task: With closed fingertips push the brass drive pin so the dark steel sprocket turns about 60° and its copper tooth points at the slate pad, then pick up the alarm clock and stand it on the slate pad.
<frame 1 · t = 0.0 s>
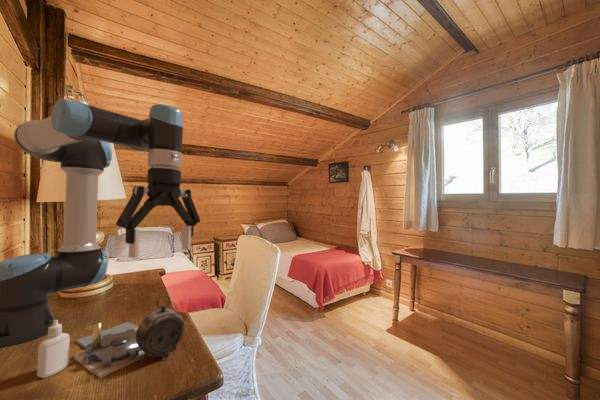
hand: (162, 253, 66), 28 cm above the table, fingers open, 13 cm apart
alarm clock: (161, 357, 69), on the table
sprocket: (120, 334, 70), point 5 cm above the table, hinge at 0.0°
pad: (110, 335, 79), on the table
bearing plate: (119, 352, 70), on the table
eye dropper bottle: (53, 371, 62), on the table
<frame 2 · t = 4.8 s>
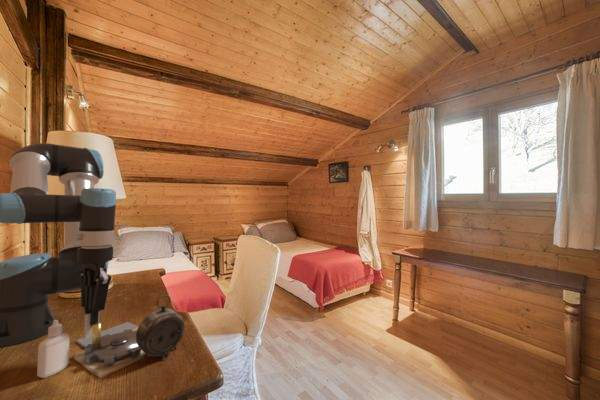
hand: (91, 336, 69), 5 cm above the table, fingers closed
sprocket: (120, 334, 70), point 5 cm above the table, hinge at 4.0°, touching gripper
everything else where it was.
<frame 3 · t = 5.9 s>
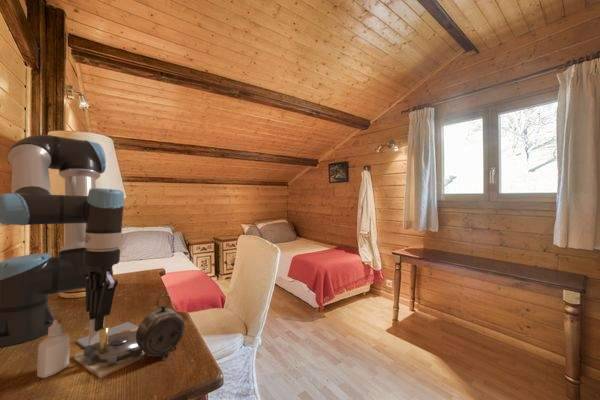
hand: (95, 342, 66), 5 cm above the table, fingers closed
sprocket: (120, 334, 70), point 5 cm above the table, hinge at 53.4°, touching gripper
everything else where it was.
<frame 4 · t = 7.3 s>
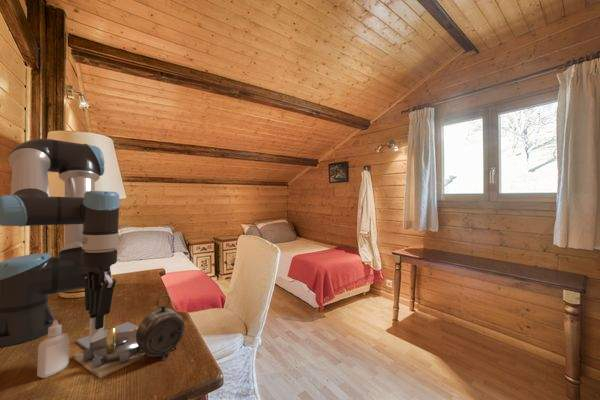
hand: (96, 339, 69), 4 cm above the table, fingers closed
sprocket: (120, 334, 70), point 5 cm above the table, hinge at 73.1°
everything else where it was.
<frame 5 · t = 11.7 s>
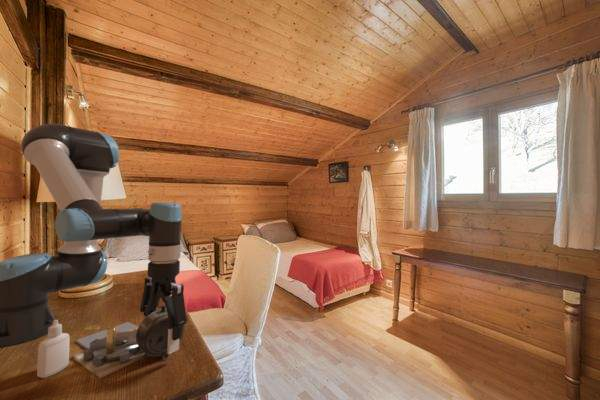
hand: (161, 345, 69), 3 cm above the table, fingers open, 10 cm apart
sprocket: (120, 334, 70), point 5 cm above the table, hinge at 73.1°, touching gripper
everything else where it was.
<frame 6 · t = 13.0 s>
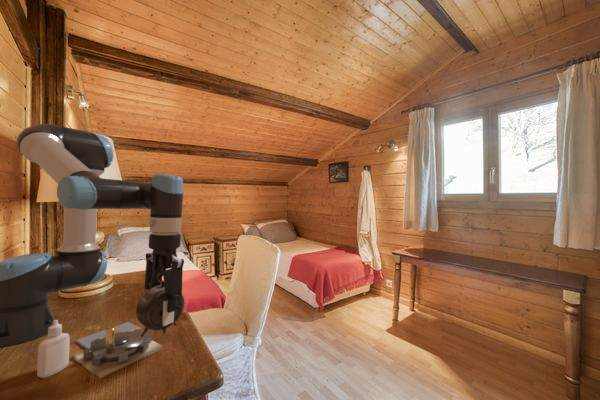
hand: (161, 320, 69), 9 cm above the table, fingers closed on alarm clock, 5 cm apart
alarm clock: (161, 333, 69), point 6 cm above the table, touching gripper
sprocket: (120, 334, 70), point 5 cm above the table, hinge at 71.2°
everything else where it was.
when the fingers open (3 cm above the table, at t = 18.7 s): alarm clock stays where it is, resting on pad.
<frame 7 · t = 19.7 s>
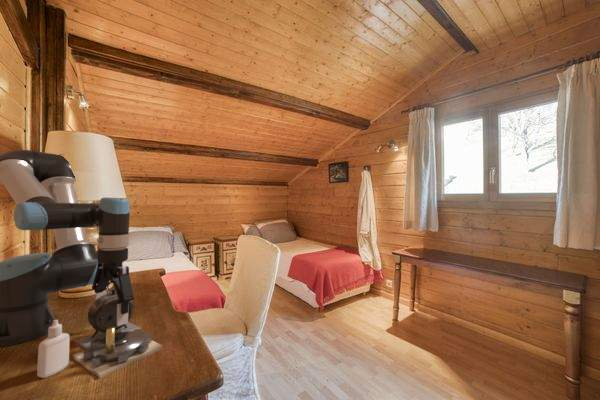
hand: (110, 318, 79), 5 cm above the table, fingers open, 13 cm apart
alarm clock: (111, 334, 79), resting on pad
everything else where it was.
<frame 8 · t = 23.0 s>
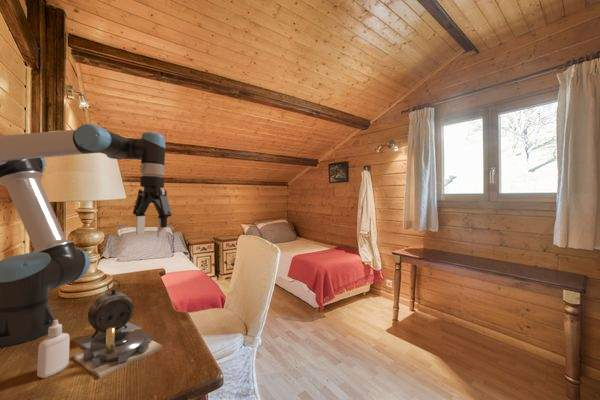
hand: (150, 235, 94), 29 cm above the table, fingers open, 13 cm apart
nothing on the table moved.
at the end: sprocket at +71° (first picture: +0°); alarm clock inside the target area on the pad (0.4 cm from its centre), point 0.4 cm above the pad's base; alarm clock tilted 0° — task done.
